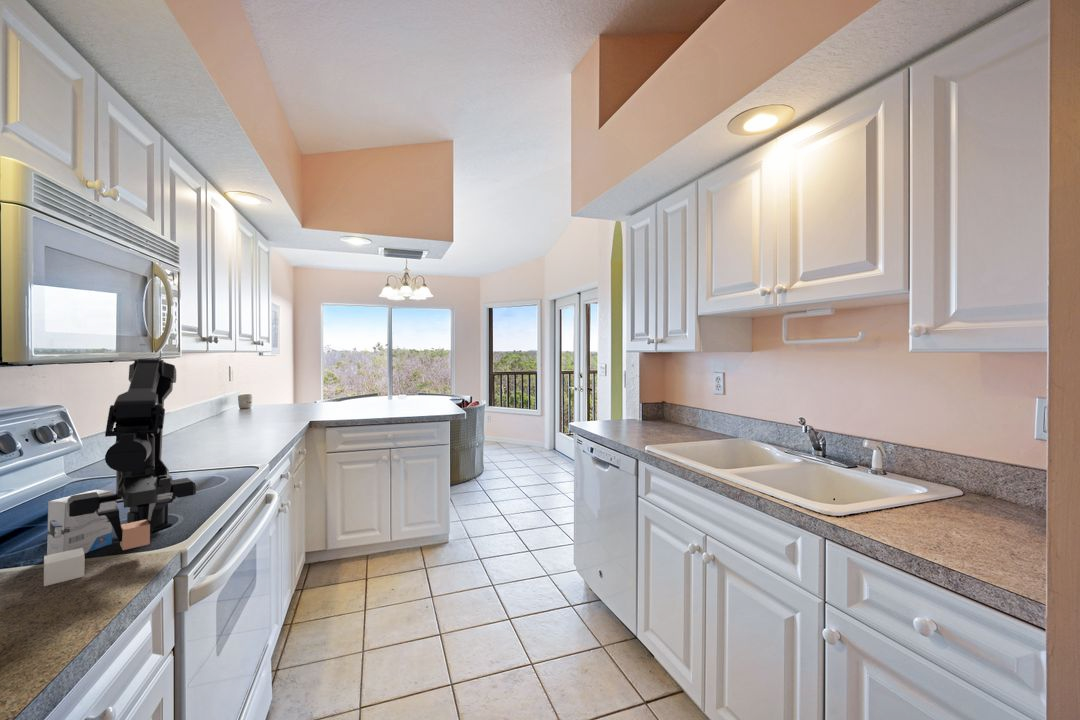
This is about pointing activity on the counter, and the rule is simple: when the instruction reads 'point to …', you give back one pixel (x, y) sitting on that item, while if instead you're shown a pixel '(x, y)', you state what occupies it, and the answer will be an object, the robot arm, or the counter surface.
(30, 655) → the counter surface
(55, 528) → the ink box
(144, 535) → the terracotta cube
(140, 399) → the robot arm
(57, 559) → the off-white block
